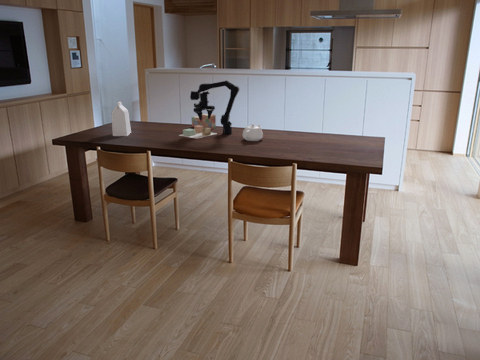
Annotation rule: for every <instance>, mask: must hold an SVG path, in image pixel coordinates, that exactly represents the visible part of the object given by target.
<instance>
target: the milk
mask: <svg viewBox="0 0 480 360" xmlns="http://www.w3.org/2000/svg"><path fill="white" fill-rule="evenodd" d="M111 111H112V112H111V127H112V128H111V129H112V136H113V137H128V136H129V135H130V133H131V134H132V130H131V121H130V120H131V119H130V114H129V110H128V108H126V107H125V106H124V105H123V103H122V101H118V102H117V103H116V106H114V107H113V110H111Z"/></svg>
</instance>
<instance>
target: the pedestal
mask: <svg viewBox="0 0 480 360" xmlns="http://www.w3.org/2000/svg"><path fill="white" fill-rule="evenodd" d="M182 134H183V135H187V136H192V135H196V131H195V129H194V128H186V129H183V130H182Z"/></svg>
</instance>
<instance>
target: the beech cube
mask: <svg viewBox="0 0 480 360" xmlns="http://www.w3.org/2000/svg"><path fill="white" fill-rule="evenodd" d="M211 130H212V129H211V128H203V129H202V135H205V136H206V137H209V136H208V135H210V136H212V135H211V133H212V131H211Z"/></svg>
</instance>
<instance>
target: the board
mask: <svg viewBox="0 0 480 360" xmlns="http://www.w3.org/2000/svg"><path fill="white" fill-rule="evenodd" d="M217 134H218V133H217V132H211V135H208V136H205V135H202V132H201V133H196V135H192V136H187V135H183V133H182V134H178V136H180V137H185V138H189V139H197V140H198V139H203V138H205V137H209V136H214V135H217Z"/></svg>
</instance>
